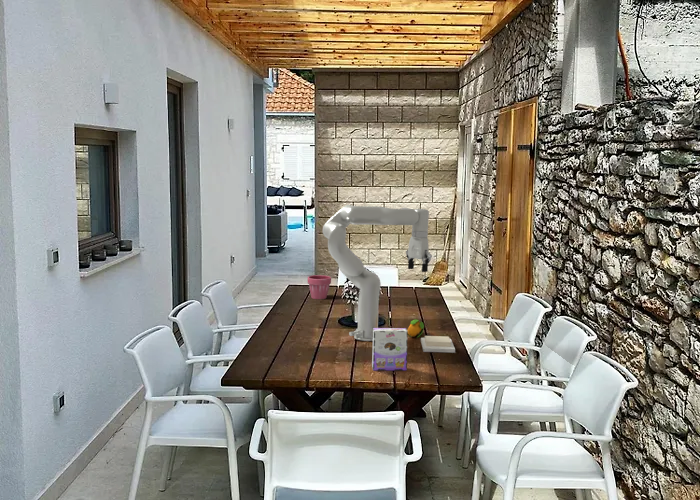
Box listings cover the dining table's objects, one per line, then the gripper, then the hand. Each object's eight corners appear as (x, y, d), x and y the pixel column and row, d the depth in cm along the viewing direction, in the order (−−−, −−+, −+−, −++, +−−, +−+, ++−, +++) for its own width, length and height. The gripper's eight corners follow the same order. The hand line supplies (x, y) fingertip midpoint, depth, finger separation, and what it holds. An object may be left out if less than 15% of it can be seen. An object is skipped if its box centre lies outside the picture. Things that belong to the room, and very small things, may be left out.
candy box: (405, 367, 309) (406, 327, 307) (406, 371, 303) (408, 331, 301) (371, 366, 309) (372, 327, 307) (372, 370, 303) (373, 330, 301)
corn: (425, 317, 371) (419, 325, 352) (425, 332, 372) (419, 341, 353) (410, 317, 373) (403, 325, 354) (411, 332, 374) (403, 341, 355)
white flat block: (455, 352, 334) (455, 344, 334) (423, 351, 335) (423, 343, 334) (450, 341, 354) (450, 334, 354) (420, 340, 354) (421, 333, 354)
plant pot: (317, 301, 447) (317, 279, 445) (302, 297, 457) (302, 276, 455) (335, 298, 456) (335, 277, 455) (320, 294, 466) (320, 274, 465)
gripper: (401, 233, 364) (399, 268, 366) (426, 236, 350) (424, 273, 352) (413, 232, 368) (411, 267, 370) (438, 236, 355) (435, 272, 357)
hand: (417, 270), depth 361 cm, fingers open, 9 cm apart
